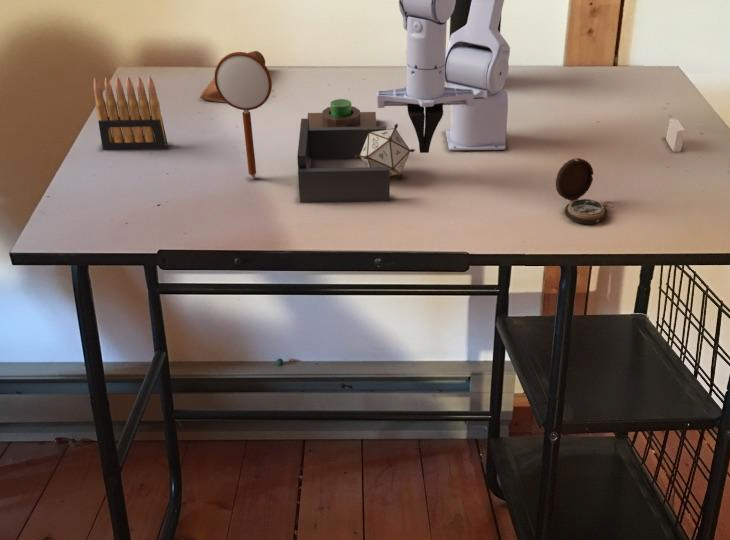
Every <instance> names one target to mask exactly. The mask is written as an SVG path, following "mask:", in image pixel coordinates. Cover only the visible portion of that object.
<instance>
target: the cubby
mask: <svg viewBox="0 0 730 540" xmlns="http://www.w3.org/2000/svg"><path fill="white" fill-rule="evenodd" d="M365 128H367V129H368V130H369V131H370V132H372V131H379V130H386V129H388V128H387V126H386V125H383V126H380V125H379V126H376V127H319V128H309V119H307V118H301V119H300V127H299V137H298V145H297V146H298V147H297V179H298V193H299V203H329V202H330V203H332V202H383V201H384V202H385V201H391V199H390V197H391V194H390V193H391V192H390V191H391V190H390V188H391V187H390V185H391V184H390V183H391V181H390V179H391V178H390V177H391V176H390V169H389V167H366V166H365V167H364V166H363V167H362V166H361V167H358V166H357V167H311V165H312V160H322V159H323V160H331V159H332V160H334V159H335V160H337V159H357V158H356V157H354V156H356V155H360V153H361V150H362V148H363V145H364V143H365V140H366V137H367V135H368V133H367V132H366V130H365ZM358 159H361V158H360V157H359V158H358Z"/></svg>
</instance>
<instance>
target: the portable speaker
mask: <svg viewBox="0 0 730 540" xmlns="http://www.w3.org/2000/svg"><path fill="white" fill-rule="evenodd" d="M471 2H472V0H456V2H455V7H454V11H453V13H452V15H451V16H450V18H449V36H448V37H449V39H448V41H449V40H450V36H451V35H452V34H453V33H454V32H456V31H457V30H459V29H461V28H462V27H464V26H465V25H466V24H467V21H468V16H469V12H470V7H471ZM502 12H503V11H502ZM502 12H501V14H502ZM501 24H502V15H501V16H500V21H499V25H498V31H499V32H500V33H501V28H502V27H501V26H502V25H501ZM467 47H472V48H477V49H482V50H487V51H492V50H491V49H490V48H488V47H483V46H478V45H468V46H467Z"/></svg>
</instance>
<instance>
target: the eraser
mask: <svg viewBox="0 0 730 540" xmlns="http://www.w3.org/2000/svg"><path fill="white" fill-rule="evenodd" d="M685 132H686V130H685V129H684V127H683V126H682V124H681V123H680V121H679V120H678V118H670V119H669V123H668V127H667V132H666V138H665V140H666V142H667V144H668V145H669V147H670V149H671V150H672V152H674V153H675V152H677V153H678V152H681V151H682V146H683V143H684V138H685Z"/></svg>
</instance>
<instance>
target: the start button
mask: <svg viewBox="0 0 730 540" xmlns="http://www.w3.org/2000/svg"><path fill="white" fill-rule="evenodd" d="M329 105H330V106H329V107H331V115H332V116H334V117H347V116H350V115H352V101H351V100H349V99H346V98H345V99H344V98H338V99H333V100H332V101H331V102H330V104H329Z"/></svg>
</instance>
